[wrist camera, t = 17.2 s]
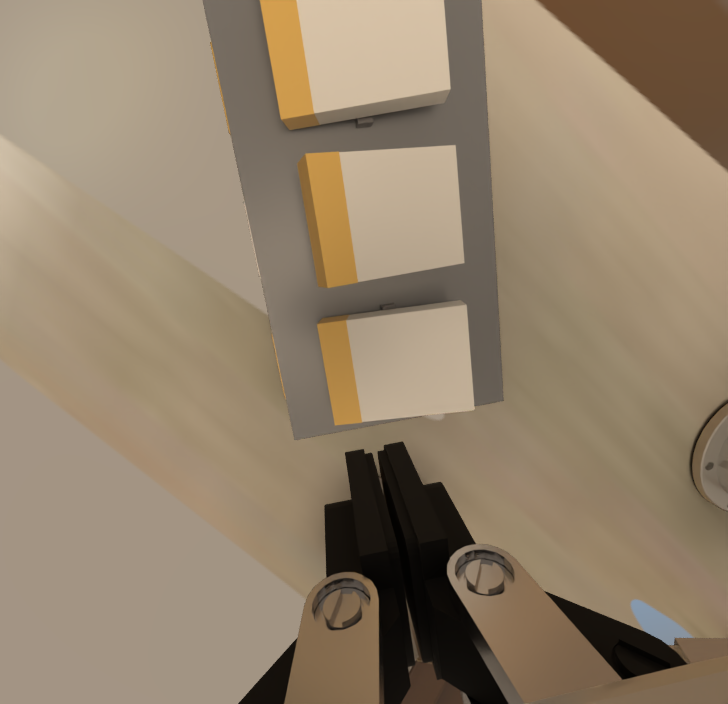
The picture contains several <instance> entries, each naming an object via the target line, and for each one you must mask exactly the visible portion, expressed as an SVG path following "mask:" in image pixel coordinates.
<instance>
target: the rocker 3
mask: <svg viewBox="0 0 728 704" xmlns="http://www.w3.org/2000/svg"><path fill="white" fill-rule="evenodd" d="M317 328H318V333H319V339H320V344H321V350H322V356H323V361H324V367H325V373H326V378H327V384H328V390H329V395H330V401H331V406H332V412H333V418H334V423H335V425H345V424H354V423H362V422H367V421H377V420H387V419H396V418H406V417H415V416H425V415H434V414H444V413H454V412H463V411H473V410H475V408H474V395H473V382H472V368H471V355H470V342H469V329H468V316H467V305H466V304H465V303H464V302H463V301H461V300H457V301H449V302H442V303H434V304H427V305H419V306H411V307H404V308H396V309H389V310H381V311H374V312H366V313H359V314H351V315H342V316H334V317H326V318H322V319H321V320H320V321H319V322H318V323H317Z"/></svg>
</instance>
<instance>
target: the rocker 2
mask: <svg viewBox="0 0 728 704" xmlns="http://www.w3.org/2000/svg"><path fill="white" fill-rule="evenodd" d="M297 168H298V174H299V179H300V185H301V191H302V197H303V203H304V208H305V214H306V220H307V226H308V232H309V237H310V243H311V249H312V255H313V261H314V266H315V272H316V278H317V284H318V287H324V288H331V287H337V286H342V285H348V284H353V283H358V282H362V281H367V280H373V279H379V278H384V277H390V276H395V275H401V274H407V273H412V272H418V271H423V270H429V269H435V268H440V267H446V266H451V265H457V264H462V263H464V249H463V236H462V223H461V210H460V196H459V183H458V170H457V157H456V145H447V146H431V147H415V148H399V149H383V150H367V151H350V152H323V153H306V154H305V155H304V156H303V157H302V158H301V159H300V161H299V162H298V163H297Z"/></svg>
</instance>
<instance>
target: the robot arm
mask: <svg viewBox="0 0 728 704" xmlns="http://www.w3.org/2000/svg"><path fill="white" fill-rule="evenodd" d="M345 456H346V463H347V470H348V477H349V484H350V491H351V498H352V500H347V501H342V502H337V503H332V504H326V505H325V542H326V576H327V578H325V579H323V580H322V581H321V582H319V583H318V584H317V585H316V586H315V587H314V588H313V589H312V591H311V592H310V593H309V595H308V597H307V599H306V602H305V605H304V609H303V614H302V619H301V624H300V629H299V634H298V638H297V639H296V640H295V641H294V642H293V643H292V644H291V645H290V647H289V648H288V649H287V650H286V651H285V652H284V653H283V654H282V656H281V657H280V658H279V659H278V660H277V661H276V662H275V663H274V664H273V666H272V667H271V668H270V669H269V670H268V671H267V672H266V673H265V674H264V675H263V677H262V678H261V679H260V680H259V681H258V682H257V683H256V684H255V685H254V687H253V688H252V689H251V690H250V691H249V692H248V693H247V694H246V696H245V697H244V698H243V699H242V700H241V701H240V702H239V703H238V704H401V703H402V701H403V699H404V697H405V696H406V694H407V692H408V690H409V689H410V687H411V684H410V677H409V670H408V667H411V666H415V658H414V651H413V644H412V637H411V630H410V623H409V616H408V609H407V604H408V608H409V612H410V616H411V620H412V624H413V628H414V631H415V635H416V639H417V643H418V647H419V651H420V654H421V658H422V662H423V663H428V662H432V664H433V667H434V671H435V674H436V678H437V680H440V679H443V680H445V681H446V682H448V683H449V684H451V685H452V686H454V687H456V688H457V689H459V690H460V695H461V698H462V701H463V704H728V638H675V641H674V645H667V644H665V643H664V642H663V641H662V640H660V639H658V638H656V637H654V636H651V635H650V634H648V633H646V632H644V631H641V630H639V629H636V628H634V627H632V626H629V625H627V624H624V623H622V622H619V621H617V620H614V619H612V618H609V617H607V616H604V615H602V614H600V613H597V612H595V611H592V610H590V609H587V608H585V607H582V606H580V605H577V604H575V603H572V602H570V601H567V600H565V599H563V598H560V597H558V596H555V595H553V594H550V593H548V592H545V591H544V590H543V589H542V588H541V587H540V586H539V585H538V584H537V583H536V581H535V580H534V579H533V578H532V577H531V576H530V575H529V574H528V572H527V571H526V570H525V569H524V568H523V567H522V566H521V564H520V563H519V562H518V561H517V560H516V559H515V558H514V557H513V556H511V555H510V554H509V553H508V552H506V551H504V550H502V549H500V548H498V547H495V546H491V545H487V544H476V543H475V542H474V540H473V538H472V536H471V534H470V533H469V531H468V529H467V527H466V525H465V524H464V522H463V520H462V518H461V516H460V514H459V513H458V511H457V509H456V507H455V505H454V504H453V502H452V500H451V498H450V496H449V495H448V493H447V491H446V489H445V487H444V486H443V484H442V483H441V482H437V483H432V484H427V485H423V484H422V482H421V480H420V478H419V476H418V473H417V471H416V469H415V467H414V465H413V463H412V460H411V458H410V456H409V454H408V452H407V450H406V447H405V445H404V443H403V442H398V443H393V444H388V445H384V450H383V451H378V459H379V466H380V473H381V479H382V486H383V491H382V487H381V483H380V480H379V476H378V473H377V469H376V466H375V462H374V458H373V455H372V453H368V454H365V453H364V449H361V450H356V451H351V452H345ZM692 471H693V478H694V482H695V485H696V487H697V489H698V490H699V492H700V494H701V495H702V496H703V497H704V498H705V499H706V500H707V501H709V502H711V503H712V504H714V505H715V506H717V507H719V508H720V509H723V510H725V511H728V403H727V404H726V405H725V406H724V407H722V408H721V409H720V410H719V411H718V412H717V413H716V414H715V415H714V416H713V417H712V418H711V420H710V421H709V422H708V424H707V425H706V427H705V428H704V430H703V431H702V433H701V435H700V437H699V439H698V441H697V444H696V447H695V450H694V454H693V462H692ZM383 493H384V494H383ZM406 601H407V602H406Z"/></svg>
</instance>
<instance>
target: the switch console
mask: <svg viewBox="0 0 728 704" xmlns="http://www.w3.org/2000/svg"><path fill="white" fill-rule="evenodd" d="M203 4H204V9H205V14H206V19H207V23H208V28H209V33H210V37H211V42H210V44H211V49H212V54H213V59H214V63H215V68H216V73H217V77H218V82H219V87H220V92H221V97H222V102H223V106H224V111H225V116H226V121H227V125H228V130H229V134H230V135H231V138H232V143H233V148H234V153H235V157H236V162H237V167H238V171H239V177H240V181H241V185H242V190H243V195H244V206H245V211H246V216H247V221H248V225H249V230H250V235H251V239H252V245H253V249H254V254H255V259H256V264H257V268H258V273H259V277H261V282H262V287H263V291H264V296H265V300H266V306H267V311H268V315H269V320H270V325H271V330H272V334H271V335H272V340H273V345H274V350H275V354H276V359H277V364H278V369H279V373H280V378H281V383H282V388H283V392H284V397H285V398H286V402H287V406H288V411H289V416H290V421H291V426H292V430H293V435H294V440H299V439H305V438H310V437H315V436H320V435H326V434H331V433H336V432H342V431H347V430H352V429H357V428H363V427H368V426H373V425H379V424H384V423H389V422H395V421H400V420H405V419H410V418H416V417H421V416H415V417H406V418H396V419H387V420H377V421H367V422H362V423H354V424H345V425H335V423H334V418H333V412H332V406H331V401H330V395H329V390H328V384H327V378H326V373H325V367H324V361H323V356H322V350H321V344H320V339H319V333H318V328H317V323H318V322H319V321H320V320H321V319H322V318H326V317H334V316H342V315H351V314H359V313H366V312H374V311H381V310H389V309H396V308H404V307H411V306H419V305H427V304H434V303H442V302H449V301H457V300H461V301H463V302H464V303H465V304H466V305H467V316H468V329H469V342H470V355H471V368H472V382H473V395H474V406H479V405H484V404H490V403H495V402H500V401H504V399H503V381H502V363H501V345H500V327H499V309H498V291H497V273H496V254H495V236H494V218H493V200H492V182H491V164H490V146H489V128H488V110H487V92H486V74H485V56H484V38H483V20H482V2H481V0H444V8H445V21H446V34H447V47H448V60H449V73H450V87H451V90H450V92H449V94H448V96H447V99H446V101H445V103H441V104H436V105H430V106H424V107H418V108H413V109H407V110H401V111H396V112H390V113H384V114H379V115H373V116H367V117H361V118H356V119H350V120H344V121H339V122H333V123H327V124H321V125H317V126H311V127H305V128H300V129H294V130H289V129H288V128H287V126H286V125H285V124H284V123H283V121H282V120H281V117H280V111H279V105H278V100H277V94H276V89H275V83H274V77H273V72H272V66H271V60H270V55H269V49H268V43H267V38H266V32H265V27H264V21H263V15H262V10H261V4H260V0H203ZM447 145H456V157H457V170H458V183H459V196H460V210H461V223H462V236H463V249H464V263H462V264H457V265H451V266H446V267H440V268H435V269H429V270H423V271H418V272H412V273H407V274H401V275H395V276H390V277H384V278H379V279H373V280H367V281H362V282H358V283H353V284H348V285H342V286H337V287H331V288H324V287H318V284H317V278H316V272H315V266H314V261H313V255H312V249H311V243H310V237H309V232H308V226H307V220H306V214H305V208H304V203H303V197H302V191H301V185H300V179H299V174H298V168H297V163H298V162H299V161H300V159H301V158H302V157H303V156H304V155H305V154H306V153H323V152H350V151H367V150H383V149H399V148H415V147H431V146H447ZM425 416H426V415H425Z"/></svg>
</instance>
